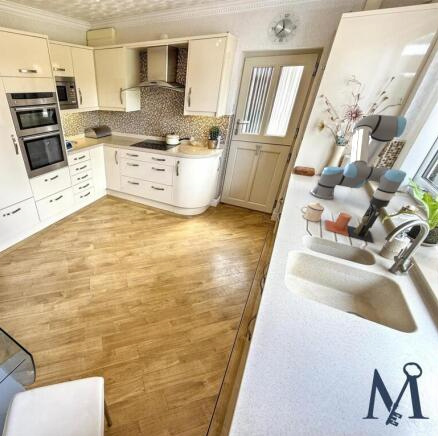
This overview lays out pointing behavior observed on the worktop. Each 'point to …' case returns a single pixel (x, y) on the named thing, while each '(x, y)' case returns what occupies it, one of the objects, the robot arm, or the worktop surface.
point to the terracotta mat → (330, 228)
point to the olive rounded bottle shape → (361, 225)
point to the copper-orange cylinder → (342, 221)
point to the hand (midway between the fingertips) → (360, 233)
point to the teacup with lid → (313, 211)
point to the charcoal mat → (354, 235)
